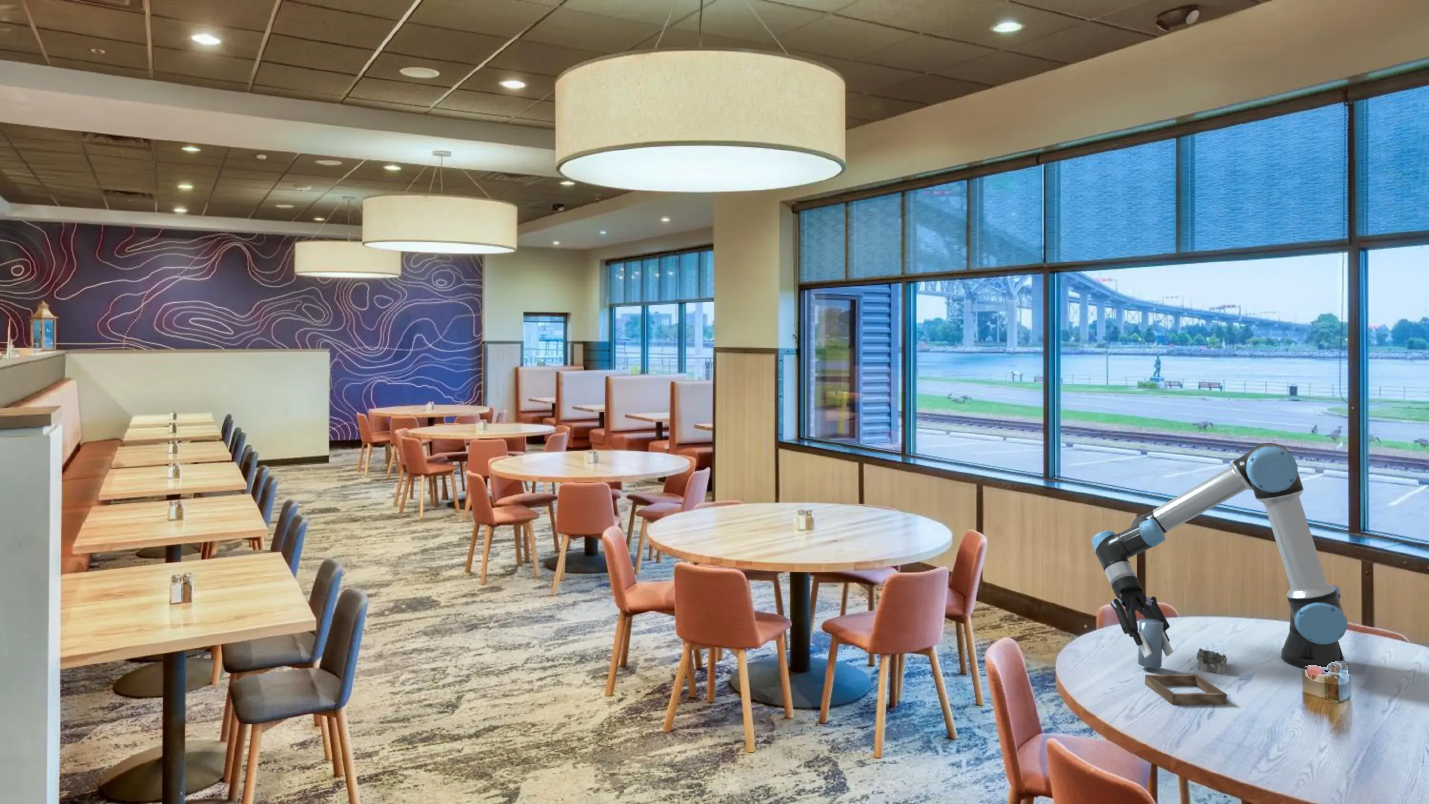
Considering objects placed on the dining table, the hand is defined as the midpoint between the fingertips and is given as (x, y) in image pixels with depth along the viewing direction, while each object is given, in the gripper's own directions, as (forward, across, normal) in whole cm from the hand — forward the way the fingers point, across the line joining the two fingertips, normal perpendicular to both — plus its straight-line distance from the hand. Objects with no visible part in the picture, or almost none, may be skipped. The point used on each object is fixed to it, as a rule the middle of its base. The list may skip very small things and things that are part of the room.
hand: (1159, 654), depth 257 cm
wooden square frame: (+14, +3, +6) cm, 15 cm away
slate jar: (0, 0, -5) cm, 5 cm away
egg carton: (+3, -18, -5) cm, 19 cm away
